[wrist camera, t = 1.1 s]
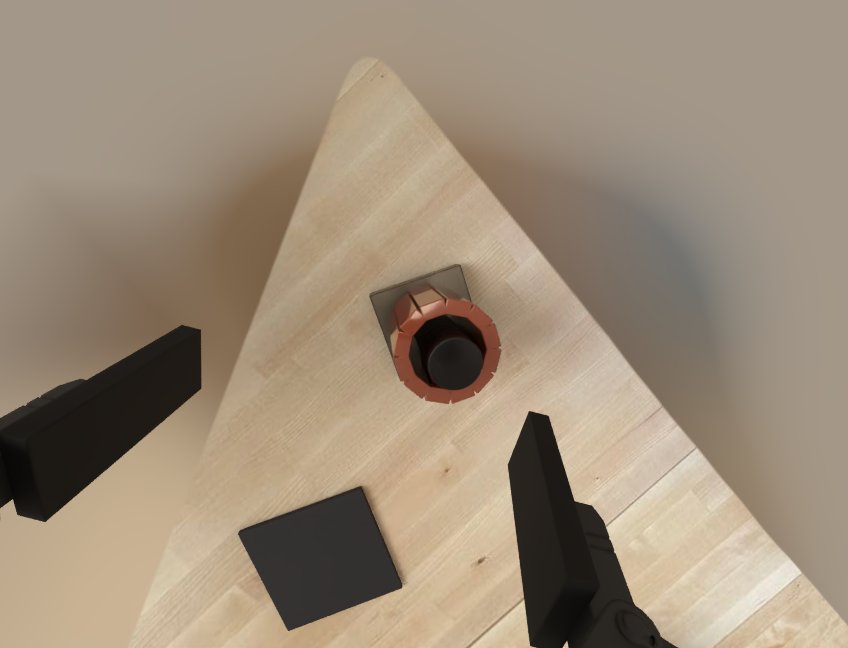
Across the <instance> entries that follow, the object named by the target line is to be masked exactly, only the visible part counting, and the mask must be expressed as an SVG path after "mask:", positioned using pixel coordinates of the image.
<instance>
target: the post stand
mask: <svg viewBox="0 0 848 648" xmlns="http://www.w3.org/2000/svg"><path fill="white" fill-rule="evenodd" d="M425 284H427V285H428V286H429V284H433V285H438V286H443V287H447V288H449V289H451V290H453V291H454V292H456V293H457V294H459V295H461V296H462V297H464V298H466V299H467V300H469V301H470V302H471V299H470V295H469V292H468V289H467V286H466V282H465V279H464V276H463V272H462V269H461V266H460V265H458V264H455V265H452V266H449V267H446V268H443V269H440V270H437V271H434V272H432V273H429V274H426V275H423V276H420V277H417V278H414V279H411V280H408V281H405V282H402V283H400V284H397V285H394V286H391V287H388V288H385V289H382V290H379V291H376V292H373V293H371V294H370V299H371V302H372V304H373V307H374V310H375V312H376V315H377V318H378V321H379V323H380V326H381V329H382V332H383V334H384V337H385V340H386V343H387V345H388V348H389V351H390V354H391V356H392V359H393V353H392V345H391V338H390V331H389V324H390V319H391V313H392V309H395V308H394V305H395V304H396V303H397V302H398V301H399V299H400V298H401V297H402V296H403V295H404V294H405V292H407V293H408V294H409V290H410V289H413V288H416V287H419V286H422V285H425ZM458 324H459V322H458V318H457V316H454V315H449V314H444V315H442V316H439V317H436V318H433V319H430V320H427V321H426V322H425V323H424V324H423V325H422V327H421V328H420V329H419V330H418V331H417V332H416V333H415V334H414V336H413V339H412V344H411V346H412V347H414V348H415V349H416V350H418V351H421V354H422V356H423V359H424V361H425V364H426V366H427V369H428V371H429V374H430V376H431V378H432V380H433V381H434V382H435V383H436V384H437V385H439V386H440V387H442V388H444V389H447V390H461V389H464V388H466V387H468V386H470V385H471V384H473V383H474V382H475V381H476V379H477V378H478V377H479V375H480V373H481V370H482V366H483V358H482V354H481V352H480V350H479V348H478V347H477V345H476V344H475V343H474V342H473V341H472V340H471V339H470V338H469V337H468V336H467V335H466V334H465V333H464V332H463V331H462V330H461V329H460V328H459V327H458ZM393 362H394V360H393ZM394 365H395V363H394ZM395 367H396V365H395ZM396 370H397V368H396ZM397 373H398V371H397ZM398 375H399V374H398ZM399 378H400V376H399ZM400 381H401V379H400Z"/></svg>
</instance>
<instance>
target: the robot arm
mask: <svg viewBox="0 0 848 648" xmlns="http://www.w3.org/2000/svg"><path fill="white" fill-rule="evenodd" d="M200 389H201V330H199V329H195V328H192V327H188V326H184V325H181V326H179V327H178V328H176V329H174V330H172V331H171V332H169V333H167V334H166V335H164V336H162V337H160V338H159V339H157V340H155V341H153V342H152V343H150V344H148V345H147V346H145V347H143V348H141V349H140V350H138V351H136V352H134V353H133V354H131V355H129V356H128V357H126V358H124V359H122V360H121V361H119V362H117V363H115V364H114V365H112V366H110V367H108V368H107V369H105V370H103V371H102V372H100V373H98V374H96V375H95V376H93V377H91V378H89V379H88V380H84V379H79V380H75V381H72V382H69V383H66V384H63V385H60V386H57V387H56V388H54V389H52V390H50V391H48V392H47V393H45V394H43V395H42V396H41V397H40V398H39V397H38V398H36V399H34V400H32V401H30V402H29V403H27V405H26V406H22V407H20V408H18V409H16V410H14V411H12V412H11V413H9V414H7V415H5V416H3V417H2V418H0V508H1V507H3V506H4V505H5V504H7V503H8V502H9V501H11V500H12V499H13V500H14V504H15V508H16V512H17V515H20V516H23V517H27V518H32V519H35V520H39V521H43V522H46V521H47V520H48V519H49V518H50V517H52V516H53V515H54V514H55V513H56V512H58V511H59V510H60V509H61V508H62V507H63V506H64V505H66V504H67V503H68V502H69V501H70V500H72V499H73V498H74V497H75V496H76V495H77V494H79V493H80V492H81V491H82V490H83V489H84V488H86V487H87V486H88V485H89V484H90V483H91V482H93V481H94V480H95V479H96V478H97V477H98V476H99V475H101V474H102V473H103V472H104V471H105V470H107V469H108V468H109V467H110V466H111V465H112V464H114V463H115V462H116V461H117V460H118V459H119V458H121V457H122V456H123V455H124V454H125V453H126V452H128V451H129V450H130V449H131V448H132V447H133V446H135V445H136V444H137V443H138V442H139V441H140V440H142V439H143V438H144V437H145V436H146V435H147V434H148V433H150V432H151V431H152V430H153V429H154V428H155V427H157V426H158V425H159V424H160V423H162V422H163V421H164V420H165V419H166V418H167V417H168V416H170V415H171V414H172V413H173V412H174V411H175V410H177V409H178V408H179V407H180V406H181V405H183V404H184V403H185V402H186V401H187V400H188V399H190V398H191V397H192V396H193V395H194V394H195V393H197V392H198V391H199V390H200ZM508 471H509V479H510V487H511V495H512V503H513V511H514V519H515V527H516V535H517V544H518V552H519V560H520V568H521V576H522V584H523V592H524V600H525V608H526V616H527V625H528V633H529V641H530V646H532V647H536V648H563V646H564V644H565V643H566V641H567V642H568V647H569V648H678V647H676V646H674V645H673V644H671V643H669V642H668V641H666V640H665V639H663V638H662V637H661V636H660V633H659V631H658V630H657V628H656V626H655V625H654V623H653V622H652V620H651V619H650V618H649V617H648V616H647V615H646V614H645V613H644V612H643V611H642V610H641V609H639V608H638V607H636V606H635V604H634V602H633V600H632V597H631V594H630V591H629V589H628V586H627V583H626V581H625V578H624V575H623V572H622V570H621V567H620V564H619V562H618V559H617V556H616V553H614V548H613V545H612V543H611V540H609V534H608V532H607V529H606V526H605V524H604V521H603V520H602V518H601V517H600V516H599V514H598V513H597V512H596V510H595V509H594V508H593V506H591V505H587V504H583V503H579V502H575V501H574V498H573V495H572V491H571V488H570V485H569V482H568V478H567V475H566V472H565V468H564V465H563V462H562V459H561V455H560V452H559V449H558V445H557V442H556V439H555V436H554V432H553V429H552V426H551V422H550V419H549V416H547V415H543V414H539V413H535V412H531V411H529V413H528V415H527V418H526V420H525V423H524V425H523V428H522V430H521V433H520V435H519V438H518V440H517V443H516V445H515V448H514V450H513V453H512V455H511V458H510V461H509V463H508Z"/></svg>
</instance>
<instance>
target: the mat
mask: <svg viewBox="0 0 848 648" xmlns="http://www.w3.org/2000/svg"><path fill="white" fill-rule="evenodd" d="M238 535H239V537H240V539H241V541H242V543H243V545H244V547H245V549H246V551H247V552H248V554H249V556H250V558H251V560H252V562H253V564H254V566H255V568H256V570H257V572H258V574H259V576H260V578H261V580H262V581H263V583H264V585H265V587H266V589H267V591H268V593H269V595H270V597H271V599H272V601H273V603H274V605H275V607H276V609H277V610H278V612H279V614H280V616H281V618H282V620H283V622H284V624H285V626H286V628H287V630H288V631H290V630H293V629H295V628H298V627H301V626H303V625H306V624H308V623H311V622H314V621H316V620H319V619H322V618H324V617H327V616H330V615H332V614H335V613H337V612H340V611H343V610H345V609H348V608H351V607H353V606H356V605H359V604H361V603H364V602H366V601H369V600H372V599H374V598H377V597H380V596H382V595H385V594H388V593H390V592H393V591H395V590H398V589H401V588H402V583H401V581H400V578H399V576H398V573H397V571H396V569H395V566H394V564H393V561H392V559H391V557H390V554H389V552H388V549H387V547H386V545H385V542H384V540H383V538H382V535H381V533H380V530H379V528H378V526H377V523H376V521H375V518H374V516H373V514H372V511H371V509H370V506H369V504H368V502H367V499H366V497H365V494H364V492H363V490H362V487H361V486H360V487H357V488H355V489H352V490H349V491H347V492H344V493H341V494H338V495H336V496H333V497H330V498H327V499H325V500H322V501H319V502H316V503H314V504H311V505H308V506H306V507H303V508H300V509H297V510H295V511H292V512H289V513H286V514H284V515H281V516H278V517H275V518H273V519H270V520H267V521H265V522H262V523H259V524H256V525H254V526H251V527H248V528H245V529H243V530H240V531H239V533H238Z"/></svg>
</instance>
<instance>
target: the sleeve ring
mask: <svg viewBox="0 0 848 648" xmlns="http://www.w3.org/2000/svg"><path fill="white" fill-rule="evenodd" d="M394 308H395V309H392V313H391V319H390V324H389V331H390V338H391V345H392V353H393V360H394V363H395V365H396V368H397V371H398V374H399V376H400V379H401V381H403V382H404V385H405V386H406V387H407V388H409V389H410V390H411V391H412V392H414V393H415V394H416V395H417V396H419V397H420V398H423V397H424V398H425V400H426V401H431V402H438V403H445V404H449V401H450V400H451V402H452V404H453V403H456V402H459V401H461V400H464V399H467V398H470V397H473V396H475V394H474V391H475V392H476V393H479V392H480V391H481V390H482V389H483V387H484V386H485V385H486V384H487V383H488V382H489V381H490V380H491V379H492V378H493V376H494V375H493V374H492V373H491V372H494V373H495V372H496V370H497V366H498V362H499V358H500V354H501V349H500V348H499V347H500V346H501V343H500V339H499V336H498V333H497V329H496V326H495V324H494V323H493V322H492V319H491V318H490V317H489V316H488V315H487V314H485V313H484V312H483V311H482V310H481V309H480V308H479V307H478V306H477V305H475V304H474V303H472V302H470V301H469V300H467V299H466V298H464V297H462V296H461V295H459V294H457V293H456V292H454V291H453V290H451V289H449V288H447V287H443V286H438V285H433V284H429V286H428V285H427V284H425V285H422V286H419V287H416V288H413V289H410V290H409V294H408V293H407V292H405V294H404V295H403V296H402V297H401V298H400V299H399V301H398V302H397V303H396V304H395V305H394ZM444 314H449V315H454V316H457V318H458V322H459V324H458V327H459V328H460V329H461V330H462V331H463V332H464V333H465V334H466V335H467V336H468V337H469V338H470V339H471V340H472V341H473V342H474V343H475V344H476V345H477V347H478V348H479V350H480V352H481V354H482V358H483V366H482V370H481V373H480V375H479V377H478V378H477V379H476V381H475V382H474V383H473V384H471V385H470V386H468V387H466V388H464V389H461V390H447V389H444V388H442V387H440V386H439V385H437V384H436V383H435V382H434V381H433V380H432V378H431V376H430V374H429V371H428V369H427V366H426V364H425V361H424V359H423V356H422V354H421V351H418V350H416V349H415V348H414V347H412V346H411V344H412V339H413V336H414V334H415V333H416V332H417V331H418V330H419V329H420V328H421V327H422V325H423V324H424V323H425V322H426V321H427V320H430V319H433V318H436V317H439V316H442V315H444ZM473 390H474V391H473Z"/></svg>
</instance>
